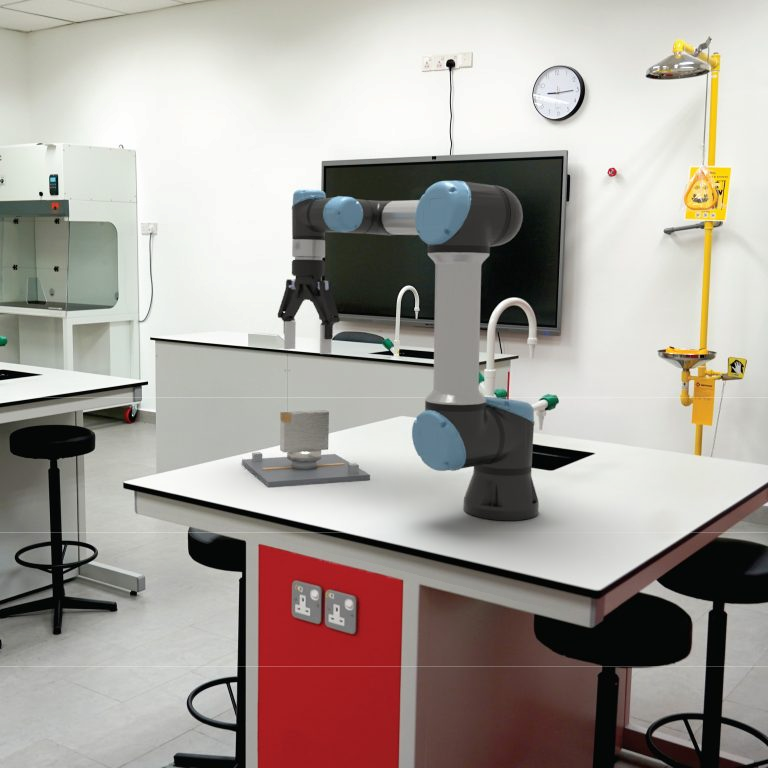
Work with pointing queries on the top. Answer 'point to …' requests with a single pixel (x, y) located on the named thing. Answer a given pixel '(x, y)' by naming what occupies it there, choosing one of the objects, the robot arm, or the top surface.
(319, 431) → the grey block knob
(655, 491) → the top surface
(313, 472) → the post plate
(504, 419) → the robot arm
